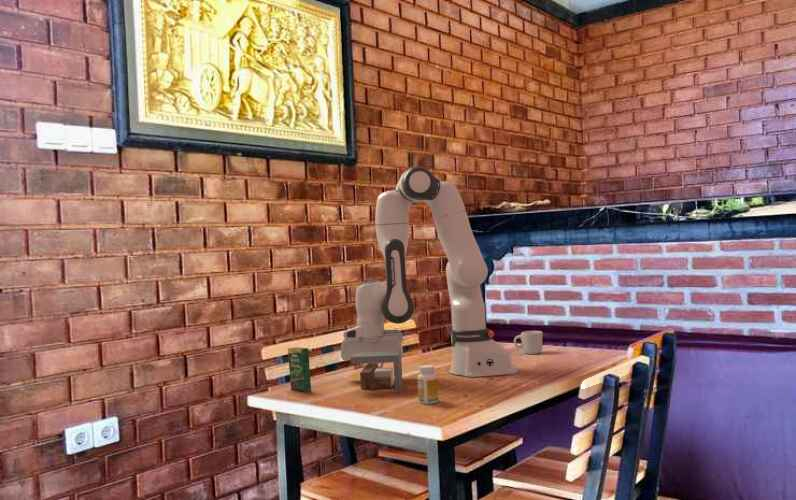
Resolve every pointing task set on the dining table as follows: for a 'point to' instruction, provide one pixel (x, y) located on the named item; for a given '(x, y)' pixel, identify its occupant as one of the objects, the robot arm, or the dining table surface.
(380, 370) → the cream block
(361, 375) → the wooden stepped block
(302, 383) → the coffee box
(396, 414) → the dining table surface
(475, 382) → the dining table surface
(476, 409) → the dining table surface
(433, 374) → the supplement bottle
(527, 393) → the dining table surface
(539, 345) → the cup
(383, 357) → the low shelf
